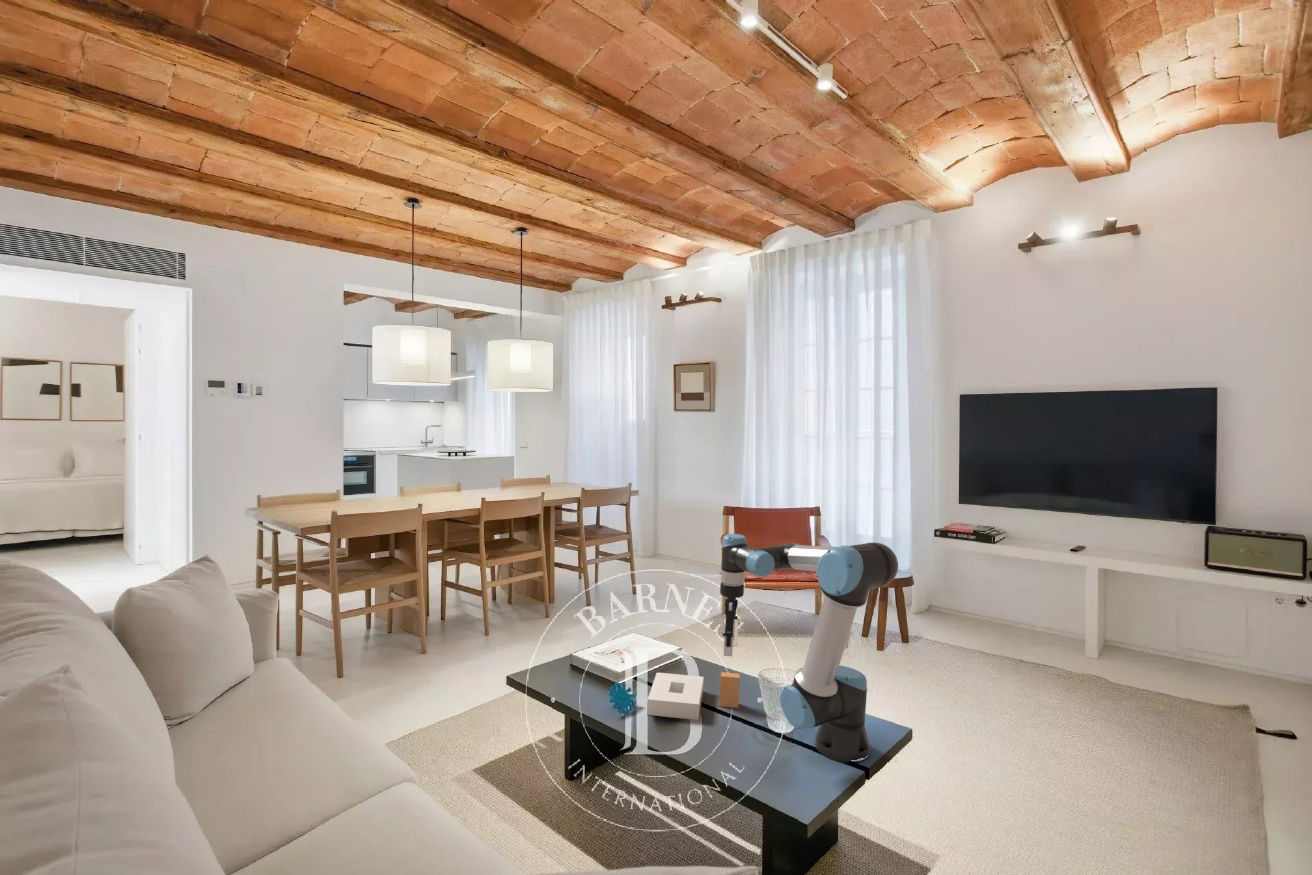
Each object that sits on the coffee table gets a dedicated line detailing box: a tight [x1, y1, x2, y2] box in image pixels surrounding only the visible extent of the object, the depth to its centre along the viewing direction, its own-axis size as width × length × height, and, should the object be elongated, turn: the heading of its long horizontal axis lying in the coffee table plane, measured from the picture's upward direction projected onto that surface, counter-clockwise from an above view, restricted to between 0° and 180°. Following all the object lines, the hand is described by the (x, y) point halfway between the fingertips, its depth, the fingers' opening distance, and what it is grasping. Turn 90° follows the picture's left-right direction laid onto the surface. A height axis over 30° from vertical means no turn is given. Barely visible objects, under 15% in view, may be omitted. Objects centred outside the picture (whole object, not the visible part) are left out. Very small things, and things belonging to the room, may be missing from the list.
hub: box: [646, 672, 705, 721], centre depth 216 cm, size 20×16×5 cm
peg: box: [719, 671, 741, 709], centre depth 215 cm, size 3×6×10 cm, turn 82°
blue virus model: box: [607, 682, 638, 715], centre depth 211 cm, size 11×6×10 cm
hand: (729, 647), depth 215 cm, fingers open, 13 cm apart
